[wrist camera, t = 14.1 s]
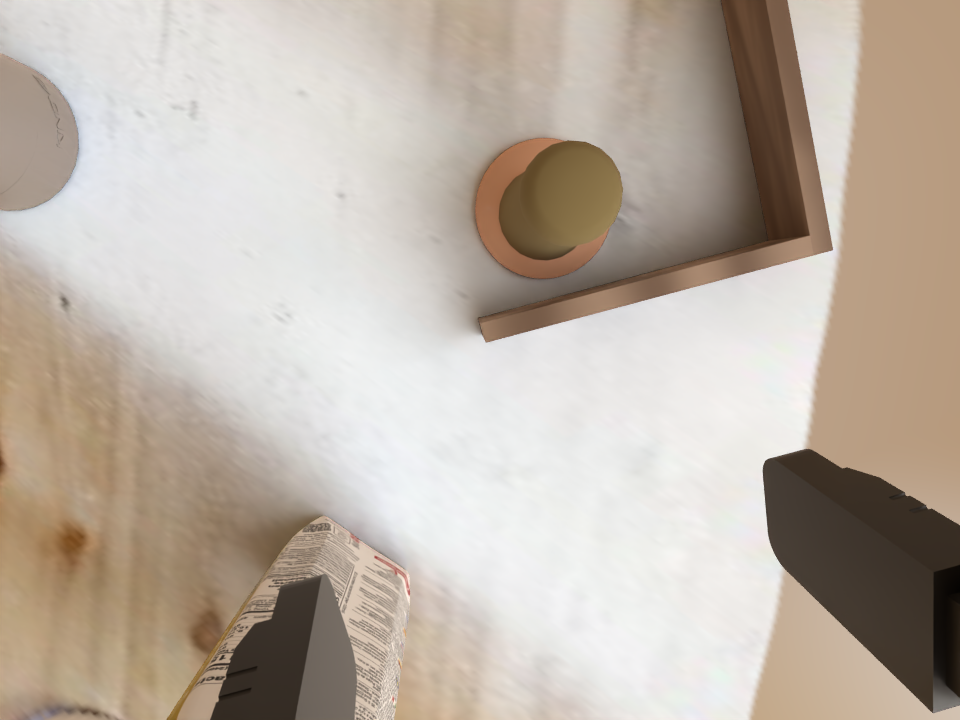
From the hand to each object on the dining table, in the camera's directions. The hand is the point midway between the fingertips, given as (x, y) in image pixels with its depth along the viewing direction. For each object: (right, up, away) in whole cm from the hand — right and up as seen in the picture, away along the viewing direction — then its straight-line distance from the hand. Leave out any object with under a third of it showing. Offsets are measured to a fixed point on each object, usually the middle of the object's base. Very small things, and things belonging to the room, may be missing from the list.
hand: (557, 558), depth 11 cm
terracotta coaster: (+3, +14, +30) cm, 33 cm away
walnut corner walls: (+7, +17, +30) cm, 35 cm away
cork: (+3, +13, +30) cm, 33 cm away
